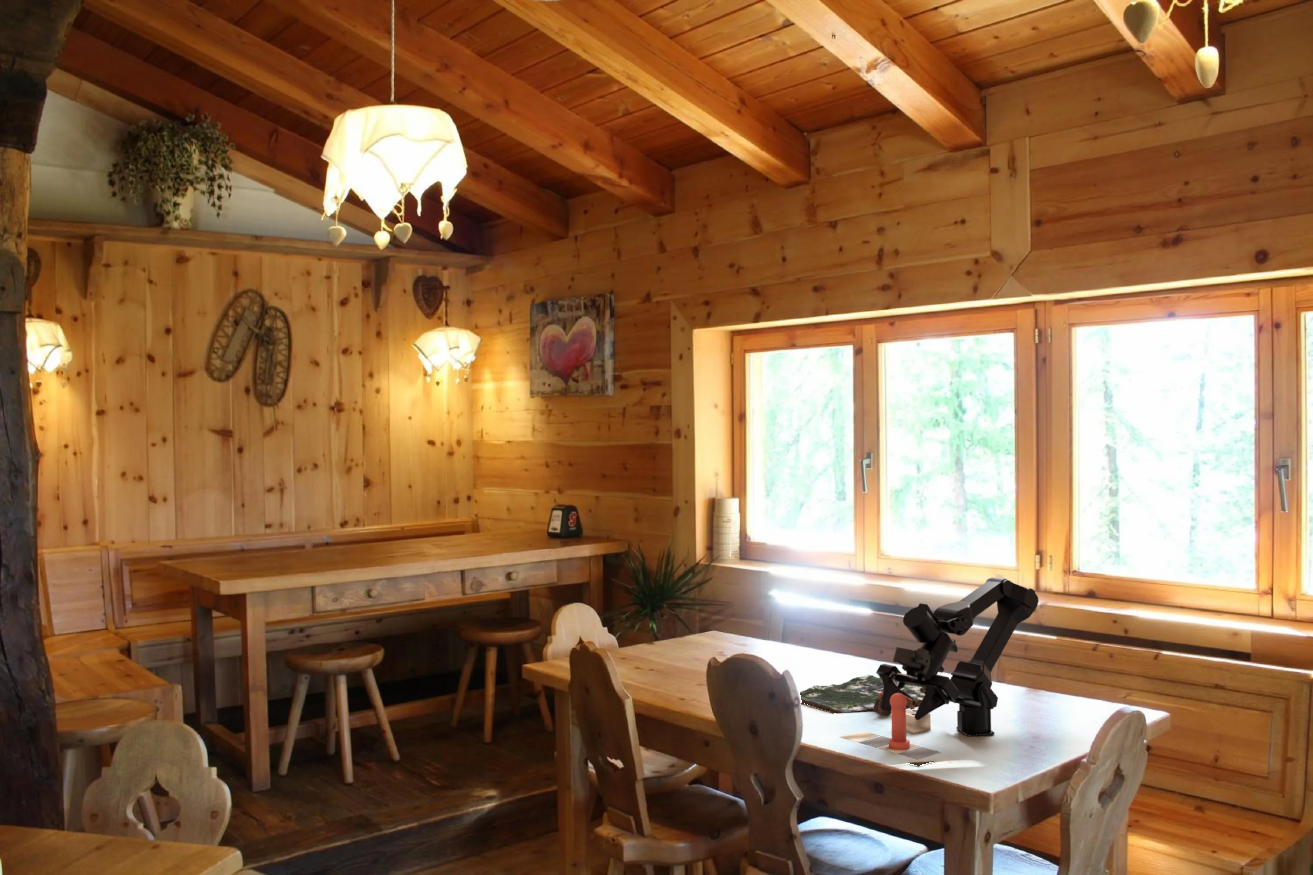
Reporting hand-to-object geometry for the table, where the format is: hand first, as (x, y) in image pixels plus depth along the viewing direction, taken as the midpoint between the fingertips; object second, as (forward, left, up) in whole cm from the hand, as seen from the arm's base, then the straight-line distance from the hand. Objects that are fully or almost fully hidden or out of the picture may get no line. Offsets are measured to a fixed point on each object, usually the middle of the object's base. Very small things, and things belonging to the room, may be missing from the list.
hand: (899, 714), depth 222 cm
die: (-8, -13, -8) cm, 18 cm away
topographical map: (-9, -46, -9) cm, 48 cm away
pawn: (0, 0, -7) cm, 7 cm away
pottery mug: (-9, -29, -9) cm, 31 cm away
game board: (+2, -2, -8) cm, 9 cm away
